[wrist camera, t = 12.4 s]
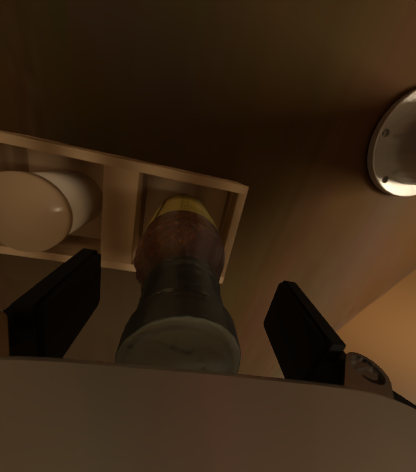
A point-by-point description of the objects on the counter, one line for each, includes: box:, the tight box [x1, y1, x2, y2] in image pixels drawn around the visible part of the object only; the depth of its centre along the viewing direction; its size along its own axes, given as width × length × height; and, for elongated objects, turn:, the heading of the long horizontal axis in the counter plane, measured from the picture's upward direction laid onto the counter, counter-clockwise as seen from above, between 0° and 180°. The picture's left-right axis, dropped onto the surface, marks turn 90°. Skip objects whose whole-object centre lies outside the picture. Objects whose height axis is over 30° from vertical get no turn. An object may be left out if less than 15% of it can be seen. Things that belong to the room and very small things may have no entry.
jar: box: [0, 170, 103, 252], centre depth 19 cm, size 6×6×8 cm
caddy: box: [0, 130, 249, 283], centre depth 22 cm, size 24×11×6 cm, turn 78°
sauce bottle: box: [115, 194, 241, 374], centre depth 15 cm, size 6×6×20 cm
